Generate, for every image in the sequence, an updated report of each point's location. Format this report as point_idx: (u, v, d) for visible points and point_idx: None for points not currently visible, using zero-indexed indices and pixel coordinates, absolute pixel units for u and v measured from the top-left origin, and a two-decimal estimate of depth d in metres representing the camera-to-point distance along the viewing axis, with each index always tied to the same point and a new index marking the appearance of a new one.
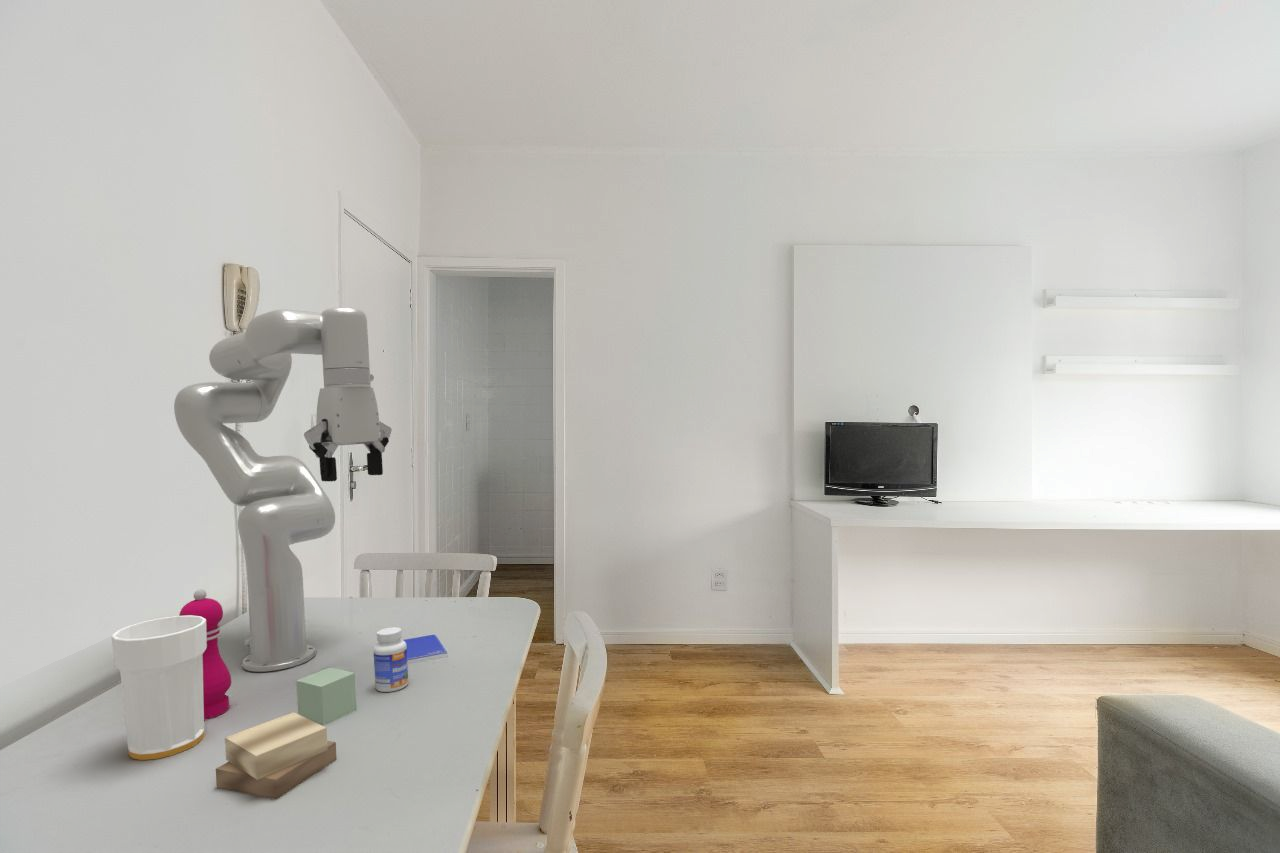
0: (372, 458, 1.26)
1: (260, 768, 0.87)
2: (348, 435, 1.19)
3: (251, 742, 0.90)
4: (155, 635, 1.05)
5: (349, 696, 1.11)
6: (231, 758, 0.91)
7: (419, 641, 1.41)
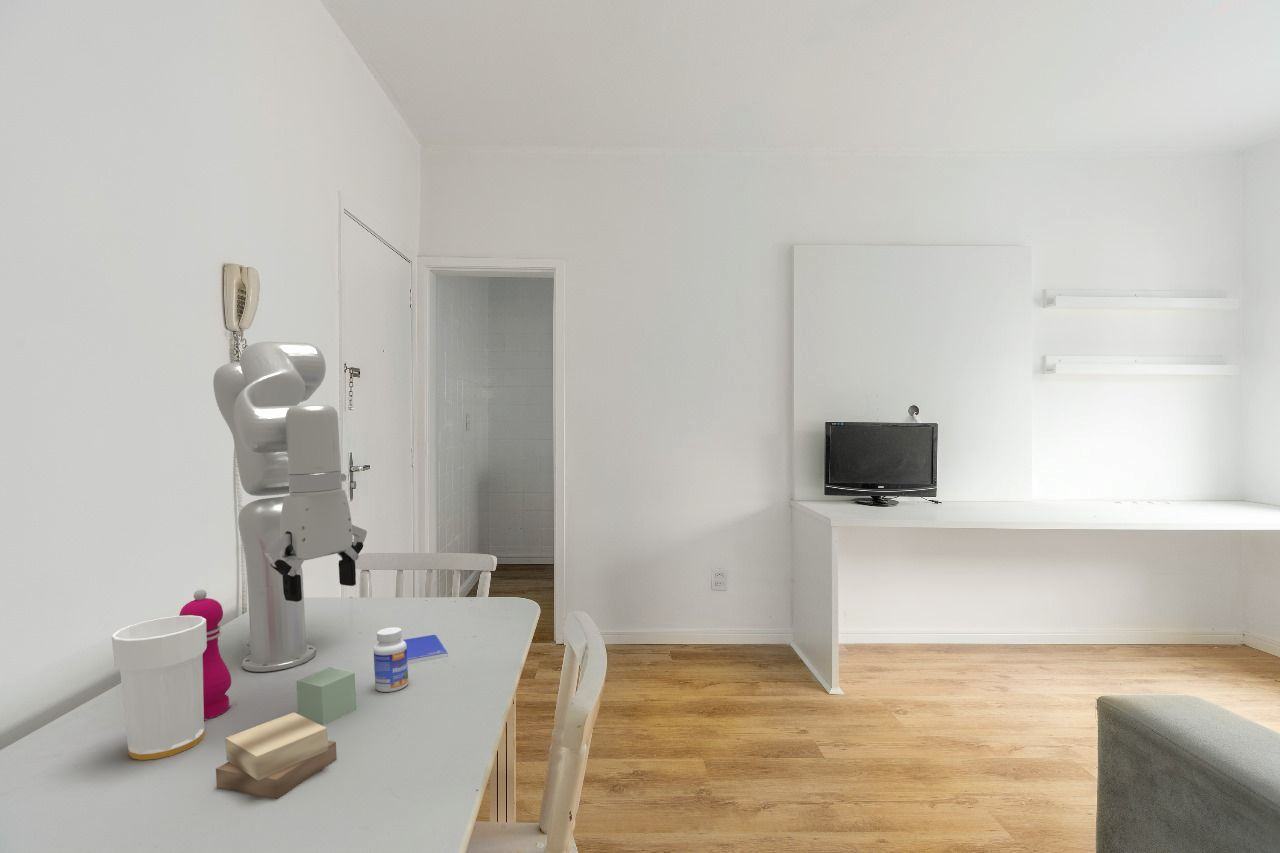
0: (345, 567, 1.14)
1: (260, 768, 0.87)
2: (315, 548, 1.07)
3: (251, 742, 0.90)
4: (155, 635, 1.06)
5: (349, 696, 1.11)
6: (231, 758, 0.91)
7: (420, 641, 1.41)
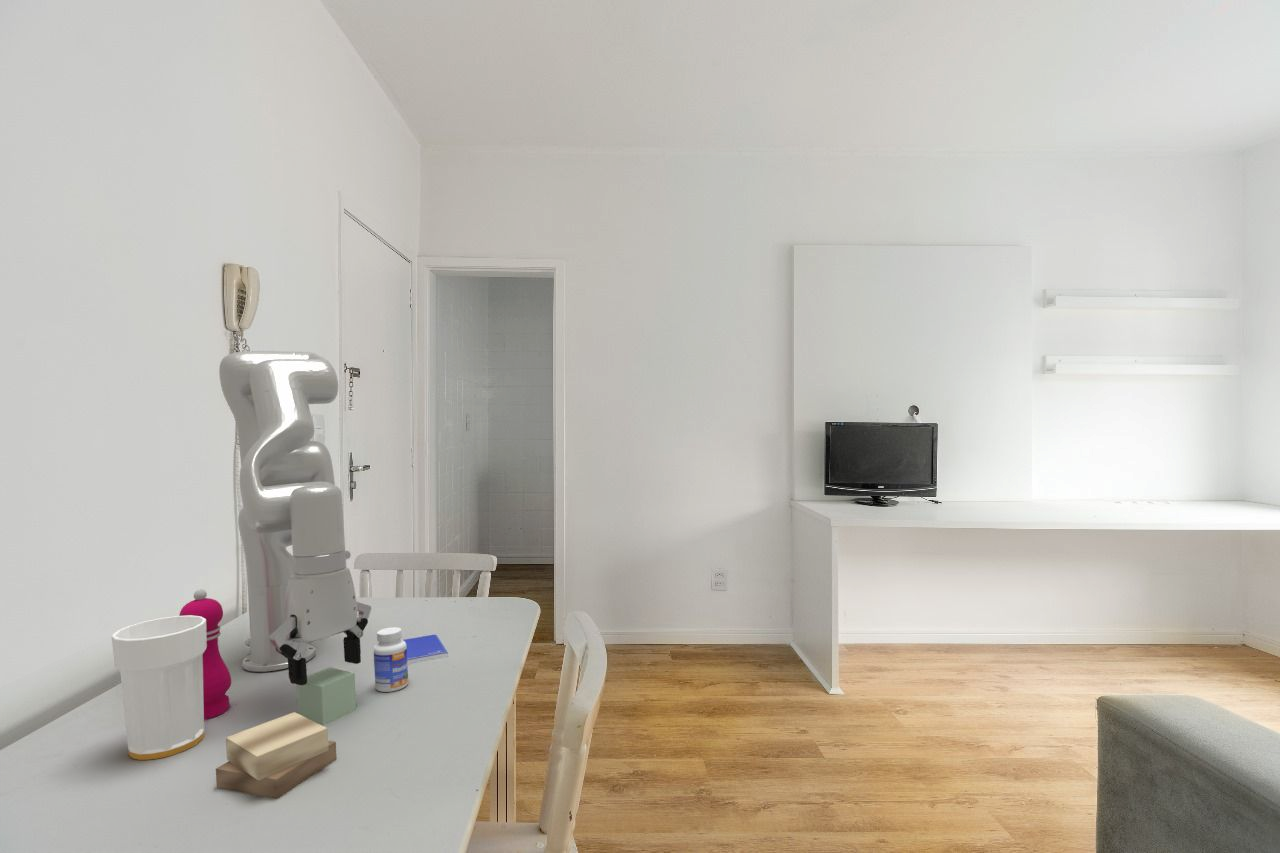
0: (349, 644, 1.14)
1: (261, 768, 0.87)
2: (320, 630, 1.07)
3: (252, 742, 0.90)
4: (155, 635, 1.05)
5: (349, 696, 1.11)
6: (232, 758, 0.91)
7: (420, 641, 1.41)
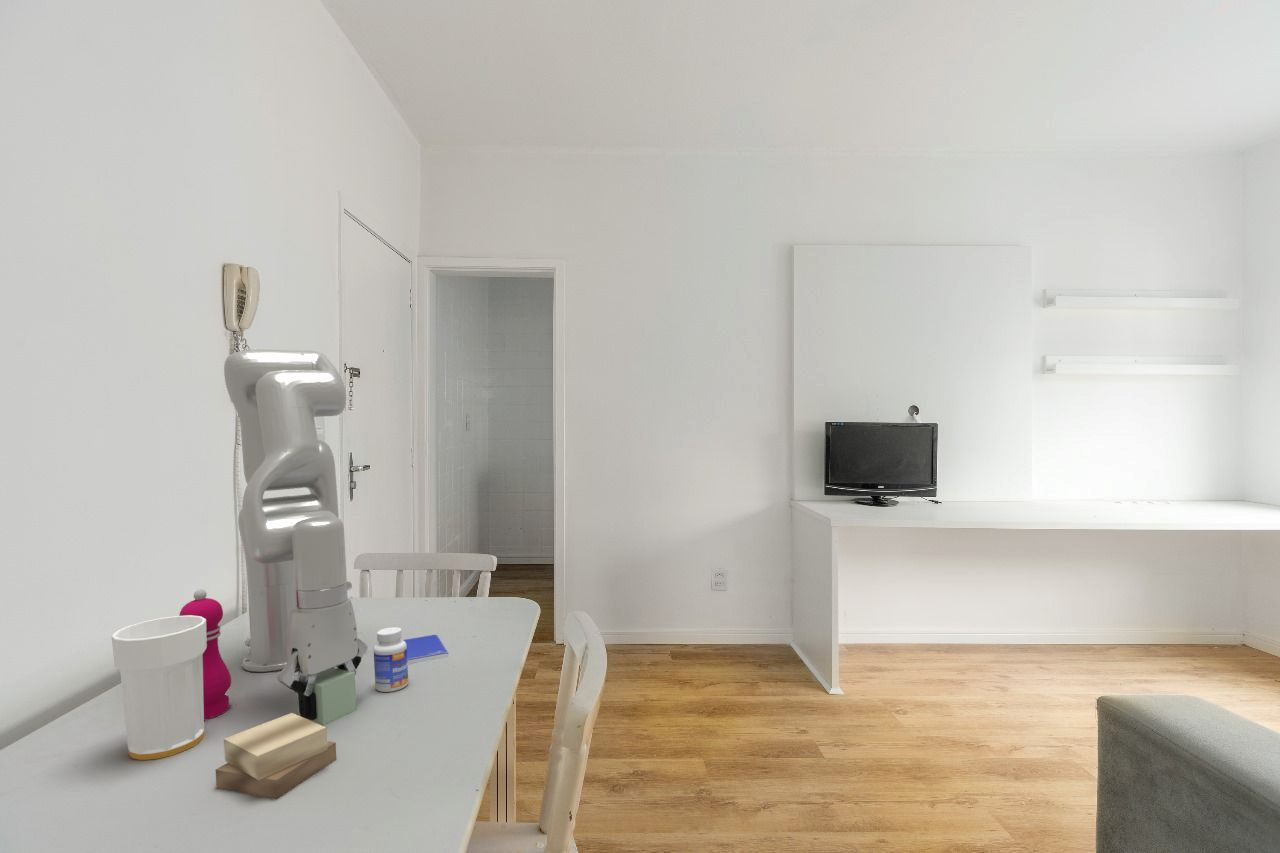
0: None
1: (261, 768, 0.87)
2: (321, 663, 1.07)
3: (251, 742, 0.90)
4: (155, 635, 1.06)
5: (349, 695, 1.11)
6: (230, 759, 0.91)
7: (420, 641, 1.41)
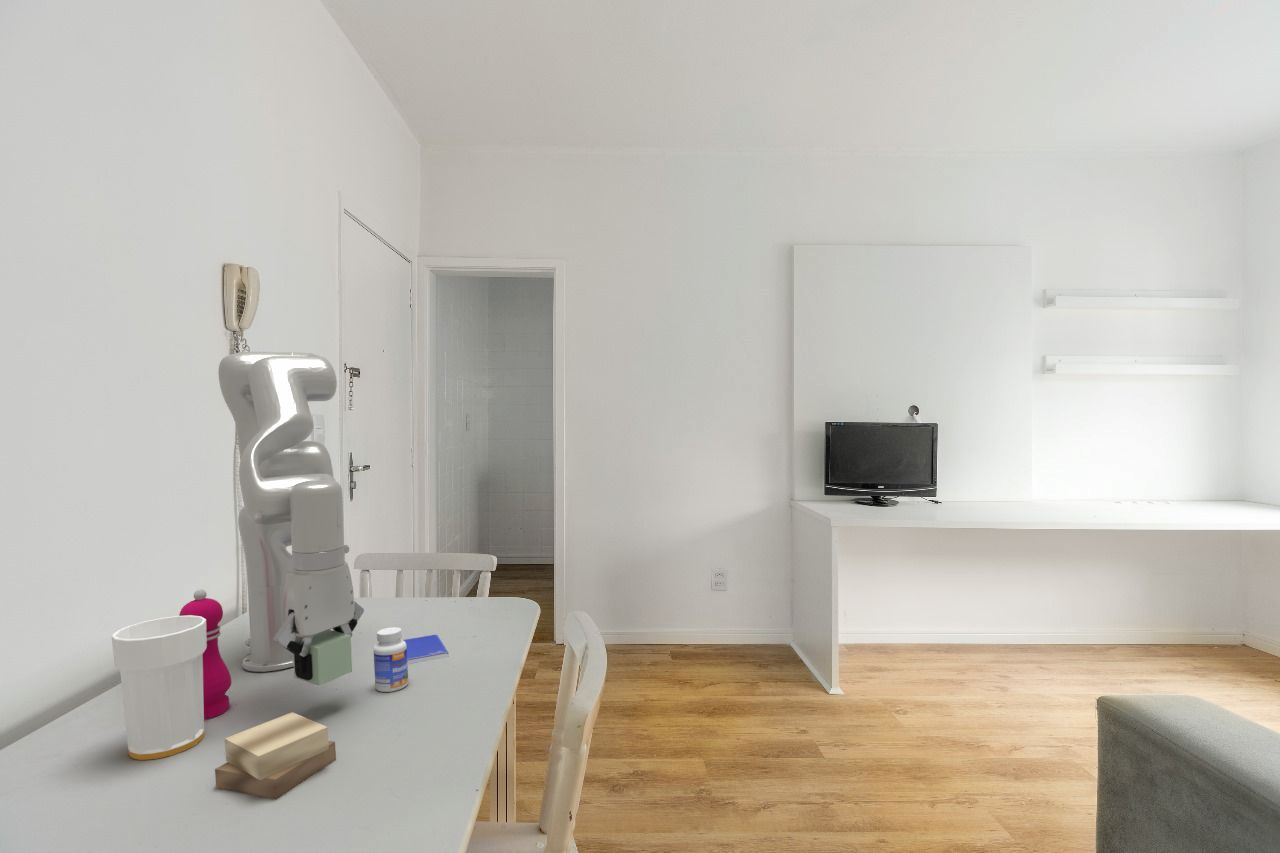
0: None
1: (262, 768, 0.87)
2: (317, 625, 1.08)
3: (252, 742, 0.90)
4: (155, 635, 1.05)
5: (345, 658, 1.12)
6: (231, 759, 0.91)
7: (421, 641, 1.41)
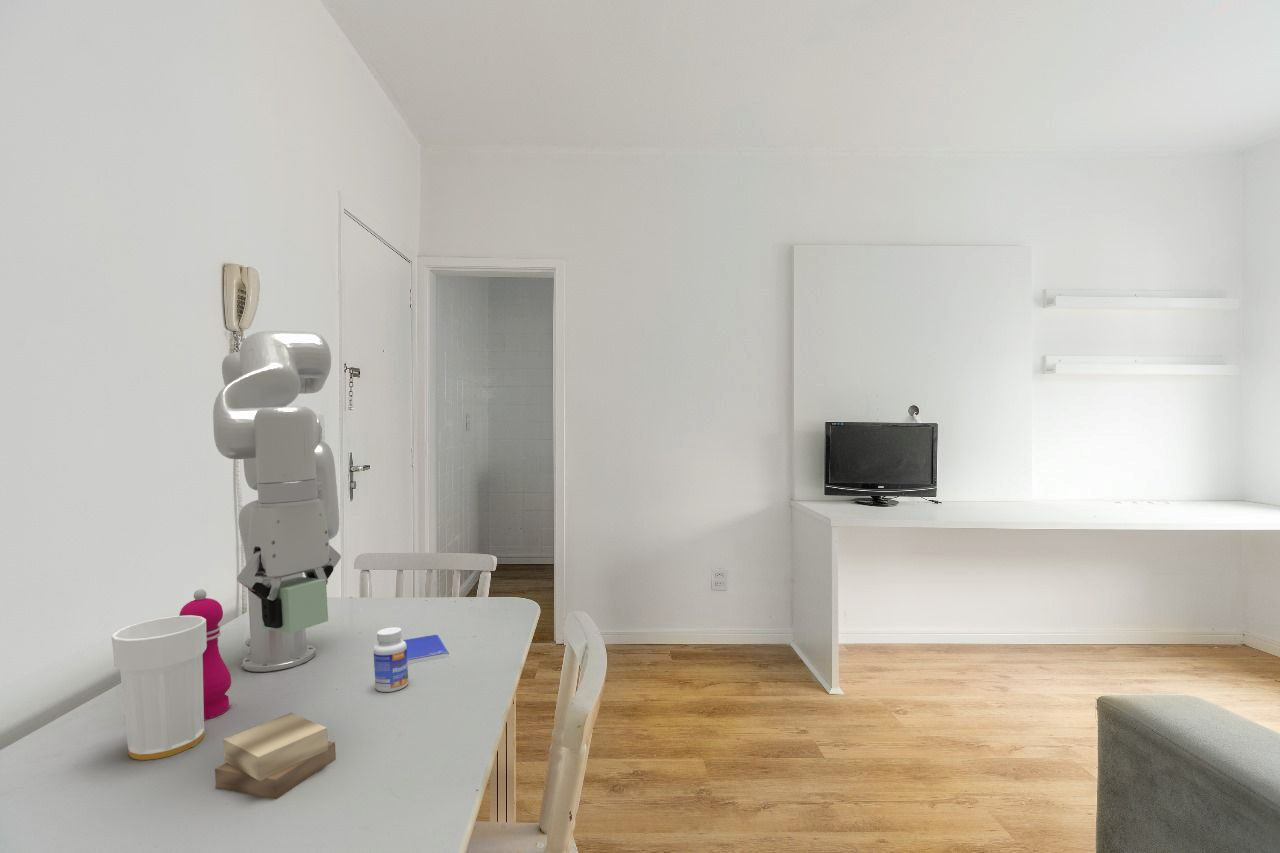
0: None
1: (262, 768, 0.87)
2: (287, 565, 0.96)
3: (251, 743, 0.90)
4: (155, 635, 1.05)
5: (320, 604, 1.00)
6: (230, 760, 0.91)
7: (421, 641, 1.41)
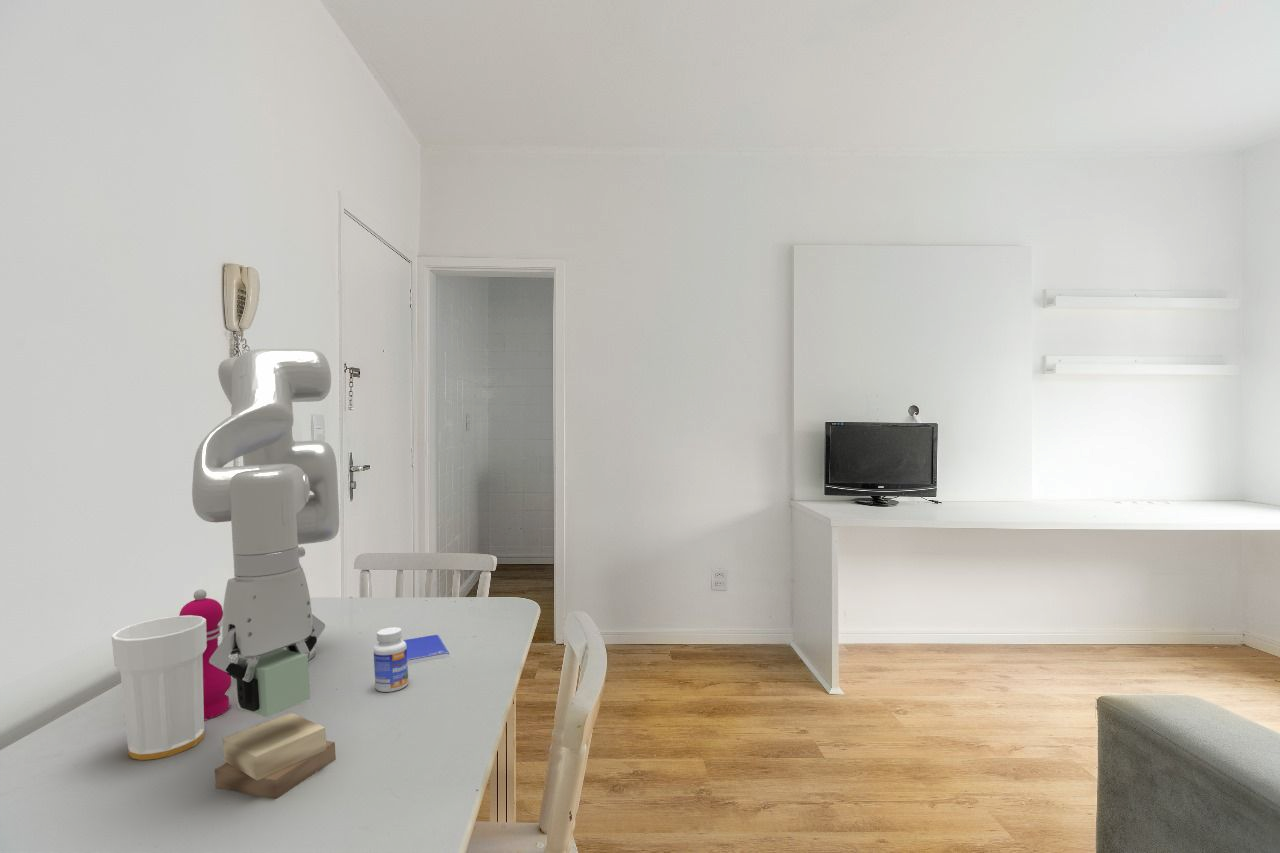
0: None
1: (259, 768, 0.87)
2: (264, 642, 0.89)
3: (249, 742, 0.90)
4: (155, 635, 1.06)
5: (301, 682, 0.93)
6: (229, 759, 0.91)
7: (421, 641, 1.41)
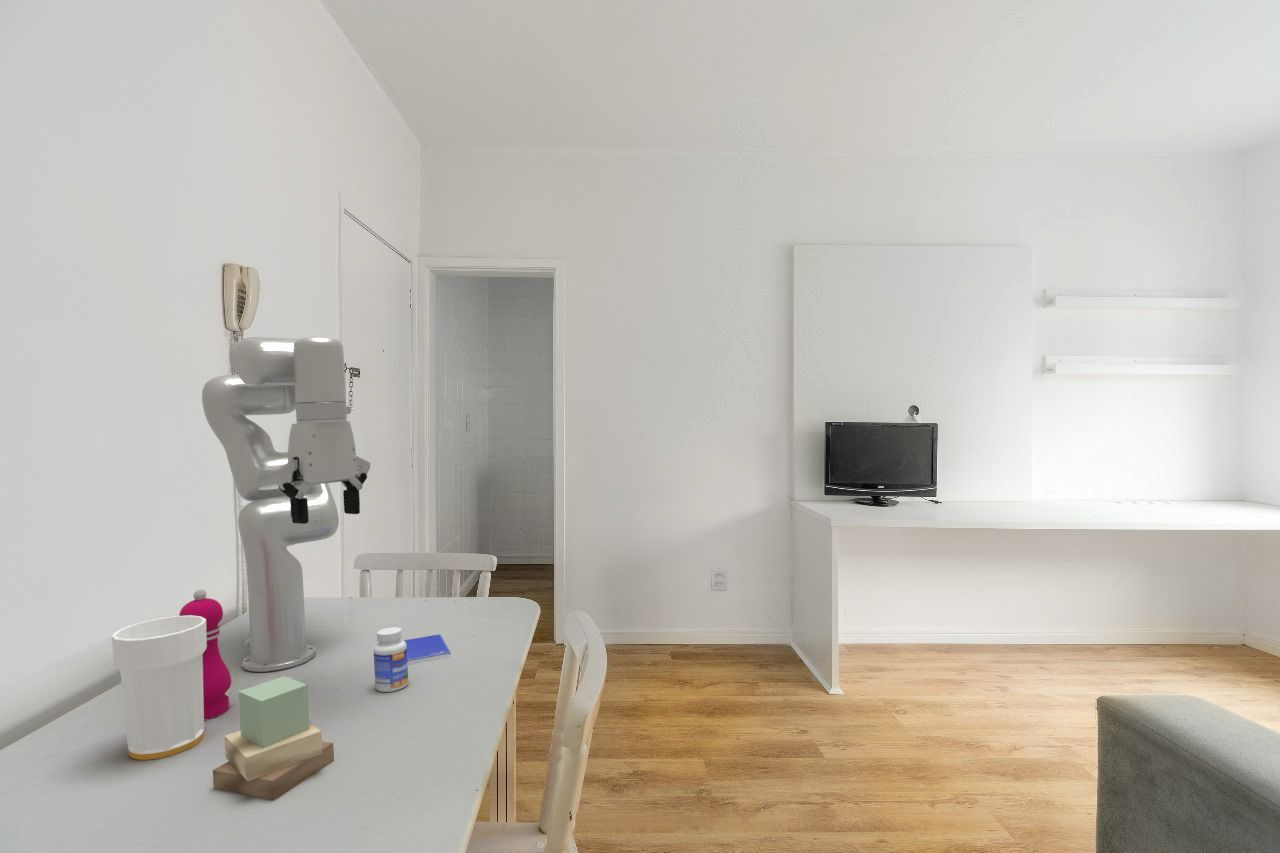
0: (349, 496, 1.19)
1: (250, 769, 0.87)
2: (321, 473, 1.12)
3: (246, 742, 0.90)
4: (155, 635, 1.06)
5: (300, 713, 0.92)
6: (229, 757, 0.91)
7: (424, 641, 1.41)
